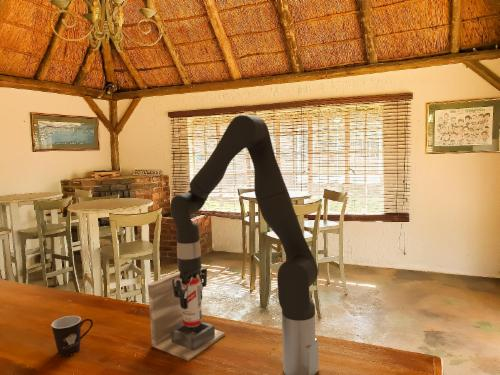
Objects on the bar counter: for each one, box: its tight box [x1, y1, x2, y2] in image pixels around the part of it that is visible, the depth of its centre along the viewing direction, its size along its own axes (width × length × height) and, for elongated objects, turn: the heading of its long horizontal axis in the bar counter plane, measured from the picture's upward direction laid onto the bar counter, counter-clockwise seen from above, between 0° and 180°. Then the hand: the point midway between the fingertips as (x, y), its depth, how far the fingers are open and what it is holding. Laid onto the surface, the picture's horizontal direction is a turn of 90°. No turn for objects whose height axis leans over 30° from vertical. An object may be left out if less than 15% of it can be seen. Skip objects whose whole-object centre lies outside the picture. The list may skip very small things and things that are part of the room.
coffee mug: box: [50, 315, 94, 357], centre depth 126 cm, size 12×9×10 cm
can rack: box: [147, 270, 226, 362], centre depth 129 cm, size 16×18×21 cm
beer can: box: [182, 277, 203, 327], centre depth 128 cm, size 6×6×16 cm
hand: (191, 304), depth 128 cm, fingers closed on beer can, 6 cm apart
